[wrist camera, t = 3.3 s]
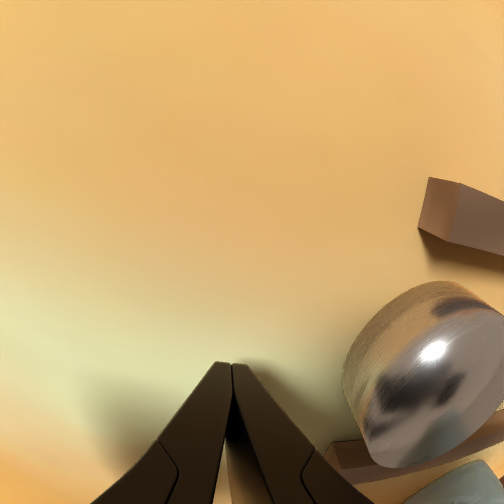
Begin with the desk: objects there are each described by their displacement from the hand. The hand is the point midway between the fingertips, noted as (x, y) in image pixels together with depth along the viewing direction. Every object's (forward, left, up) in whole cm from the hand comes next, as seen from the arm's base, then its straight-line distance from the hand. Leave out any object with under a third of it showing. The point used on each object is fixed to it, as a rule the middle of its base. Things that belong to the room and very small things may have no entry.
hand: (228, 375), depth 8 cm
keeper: (0, -7, -1) cm, 7 cm away
